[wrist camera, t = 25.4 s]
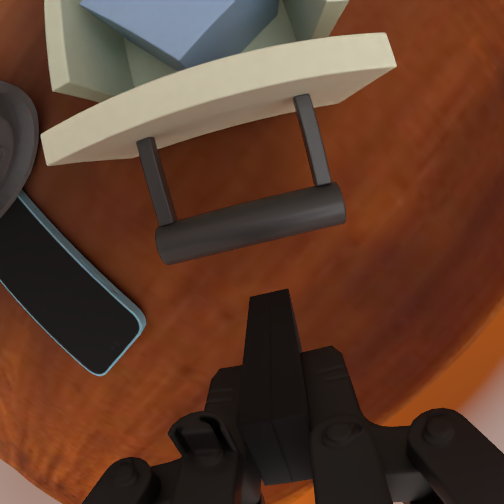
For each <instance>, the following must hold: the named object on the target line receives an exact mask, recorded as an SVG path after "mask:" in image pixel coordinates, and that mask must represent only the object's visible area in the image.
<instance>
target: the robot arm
mask: <svg viewBox="0 0 504 504" xmlns="http://www.w3.org/2000/svg"><path fill="white" fill-rule="evenodd" d="M168 435H169V437H170V438H171V440H172V441H173V443H174V444H175V446H176V447H177V449H178V450H179V452H180V453H181V455H182V457H181V458H179V459H177V460H174V461H172V462H168V463H164V464H160V465H156V466H152V467H150V466H149V465H148V463H147V462H146V461H144V460H142V459H140V458H135V457H128V458H124V459H120V460H119V461H117V462H115V463H113V464H112V465H111V466H110V467H109V468H108V469H107V470H106V471H105V473H104V474H103V475H102V477H101V478H100V480H99V481H98V482H97V484H96V485H95V486H94V488H93V489H92V490H91V492H90V493H89V495H88V496H87V497H86V499H85V500H84V501H83V503H82V504H265V501H264V497H263V495H262V493H261V478H262V480H263V482H264V484H265V485H274V484H282V483H289V482H296V481H302V480H308V479H313V484H314V494H315V503H316V504H393V502H403V503H404V504H504V454H503V453H502V452H501V451H500V450H499V449H498V448H497V447H496V446H495V445H494V444H493V443H492V442H491V441H489V440H488V439H487V438H486V437H485V436H484V435H483V434H482V433H481V432H480V431H479V430H478V429H477V428H476V427H474V426H473V425H472V424H471V423H470V422H469V421H468V420H467V419H466V418H465V417H464V416H463V415H461V414H460V413H458V412H456V411H455V410H451V409H446V408H439V409H431V410H429V411H426V412H424V413H422V414H420V415H419V416H418V417H417V418H416V419H414V420H413V422H412V424H411V425H410V426H398V427H386V426H380V425H376V424H374V423H372V422H370V421H368V420H367V419H366V418H365V417H364V416H363V414H362V412H361V410H360V407H359V403H358V400H357V397H356V394H355V391H354V388H353V385H352V382H351V379H350V376H349V373H348V370H347V368H346V365H345V362H344V359H343V356H342V353H340V352H339V351H338V350H337V349H335V348H334V347H333V346H328V347H324V348H320V349H315V350H311V351H306V352H302V347H301V342H300V338H299V333H298V329H297V325H296V320H295V316H294V311H293V307H292V303H291V298H290V294H289V290H288V289H284V290H279V291H275V292H270V293H266V294H261V295H257V296H252V297H250V301H249V311H248V320H247V329H246V338H245V348H244V357H243V365H240V366H234V367H228V368H222V369H219V371H218V372H217V373H216V374H215V376H214V377H213V378H212V380H211V383H210V388H209V394H208V396H207V403H206V405H205V409H204V411H199V412H195V413H190V414H188V415H186V416H184V417H182V418H180V419H179V420H178V421H177V422H176V423H174V424H173V425H172V427H171V428H170V430H169V432H168Z"/></svg>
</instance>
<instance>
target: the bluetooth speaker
mask: <svg viewBox="0 0 504 504" xmlns="http://www.w3.org/2000/svg"><path fill="white" fill-rule="evenodd" d="M38 139H39V121H38V115H37V111H36V108H35V106H34V104H33V102H32V100H31V99H30V98H29V96H28V95H27V94H26V93H25V92H24V91H23V90H22V89H20V88H19V87H17V86H15V85H13V84H10V83H7V82H4V81H1V80H0V218H1V217H2V216H3V215H4V214H5V212H6V211H7V210H8V209H9V208H10V206H11V205H12V204H13V202H14V201H15V200H16V198H17V196H18V195H19V193H20V191H21V189H22V188H23V186H24V184H25V182H26V181H27V179H28V177H29V175H30V173H31V171H32V168H33V165H34V161H35V158H36V153H37V147H38Z"/></svg>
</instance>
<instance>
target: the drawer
mask: <svg viewBox="0 0 504 504" xmlns="http://www.w3.org/2000/svg"><path fill="white" fill-rule="evenodd" d="M81 1H82V0H44V12H45V31H46V44H47V55H48V64H49V72H50V80H51V87H52V91H53V92H58V93H62V94H67V95H71V96H75V97H79V98H84V99H88V100H92V101H95V102H99V104H97V105H95V106H92V107H90V108H88V109H86V110H84V111H82V112H80V113H78V114H76V115H74V116H72V117H71V118H69V119H67V120H65V121H63V122H61V123H59V124H58V125H56V126H54V127H52V128H50V129H49V130H47V131H45V132H43V133H42V134H41V135H40V137H41V142H42V146H43V151H44V156H45V160H46V164H47V166H52V165H61V164H70V163H79V162H90V161H101V160H114V159H129V158H135V157H138V156H140V160H141V163H142V167H143V171H144V174H145V178H146V181H147V185H148V188H149V192H150V195H151V199H152V202H153V205H154V209H155V212H156V215H157V219H158V222H159V225H160V226H158V227H157V229H156V233H155V239H156V246H157V250H158V253H159V255H160V257H161V259H162V261H163V262H164V263H165V264H166V265H172V264H176V263H180V262H184V261H188V260H193V259H197V258H201V257H205V256H209V255H213V254H217V253H222V252H226V251H230V250H234V249H238V248H242V247H247V246H251V245H255V244H259V243H263V242H267V241H272V240H276V239H280V238H284V237H288V236H293V235H297V234H301V233H305V232H310V231H314V230H318V229H322V228H327V227H331V226H335V225H339V224H344V223H345V222H346V209H345V204H344V199H343V196H342V193H341V190H340V188H339V186H338V184H337V183H336V182H332V181H331V176H330V172H329V167H328V163H327V159H326V155H325V150H324V146H323V142H322V138H321V134H320V130H319V126H318V122H317V119H316V115H315V111H314V108H316V107H321V106H327V105H333V104H338V103H340V102H342V101H343V100H345V99H346V98H348V97H349V96H351V95H352V94H354V93H355V92H357V91H358V90H360V89H362V88H363V87H365V86H366V85H368V84H369V83H371V82H373V81H374V80H376V79H377V78H379V77H381V76H382V75H384V74H385V73H387V72H389V71H390V70H392V69H394V68H395V67H396V66H397V64H396V61H395V58H394V55H393V52H392V49H391V46H390V43H389V41H388V38H387V35H386V33H366V34H353V35H342V36H333V37H328V36H329V35H330V33H331V31H332V29H333V28H334V26H335V24H336V22H337V21H338V19H339V17H340V15H341V14H342V12H343V10H344V9H345V7H346V5H347V3H348V2H349V0H279V5H278V15H277V16H276V17H275V18H274V19H273V20H272V21H271V22H270V23H269V24H268V25H267V26H266V27H265V28H264V29H263V30H262V31H261V32H260V33H259V34H258V35H257V36H256V37H255V38H254V39H253V40H252V41H251V43H250V44H249V45H248V46H247V47H246V48H245V49H244V50H243V51H242V52H241V53H240V54H236V55H232V56H228V57H224V58H221V59H217V60H213V61H210V62H207V63H203V64H200V65H197V66H193V67H190V68H187V69H184V70H181V71H176V70H175V69H173V68H171V67H170V66H168V65H167V64H165V63H164V62H162V61H161V60H159V59H157V58H156V57H154V56H153V55H151V54H150V53H148V52H146V51H145V50H143V49H141V48H140V47H138V46H136V45H135V44H133V43H131V42H130V41H128V40H127V39H126V38H124V37H123V36H122V35H120V34H119V33H118V32H116V31H115V30H114V29H112V28H111V27H110V26H108V25H107V24H106V23H104V22H103V21H102V20H100V19H99V18H97V17H96V16H95V15H93V14H92V13H90V12H89V11H87V10H86V9H85V8H83V7H82V6H80V5H79V4H80V2H81ZM291 112H296V114H297V118H298V121H299V125H300V129H301V133H302V137H303V141H304V144H305V148H306V152H307V157H308V161H309V165H310V169H311V173H312V178H313V182H314V184H315V185H316V186H313V187H308V188H304V189H300V190H295V191H291V192H287V193H283V194H278V195H274V196H270V197H266V198H262V199H258V200H254V201H250V202H246V203H242V204H238V205H234V206H230V207H226V208H222V209H219V210H215V211H211V212H207V213H203V214H200V215H196V216H192V217H189V218H185V219H181V220H178V221H176V220H177V216H176V213H175V210H174V206H173V203H172V200H171V196H170V193H169V189H168V186H167V182H166V179H165V175H164V171H163V168H162V164H161V161H160V157H159V153H158V149H160V148H163V147H166V146H169V145H172V144H175V143H178V142H182V141H185V140H188V139H191V138H194V137H198V136H201V135H204V134H208V133H211V132H215V131H218V130H222V129H225V128H229V127H233V126H236V125H240V124H244V123H248V122H252V121H256V120H260V119H264V118H268V117H273V116H277V115H282V114H286V113H291Z"/></svg>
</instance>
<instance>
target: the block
mask: <svg viewBox="0 0 504 504" xmlns="http://www.w3.org/2000/svg"><path fill="white" fill-rule="evenodd" d="M79 5H80V6H82V7H83V8H85V9H86V10H87V11H89V12H90V13H92V14H93V15H95V16H96V17H97V18H99V19H100V20H102V21H103V22H104V23H106V24H107V25H108V26H110V27H111V28H112V29H114V30H115V31H116V32H118V33H119V34H120V35H122V36H123V37H124V38H126V39H127V40H128V41H130V42H131V43H133V44H135V45H136V46H138V47H140V48H141V49H143V50H145V51H146V52H148V53H150V54H151V55H153V56H154V57H156V58H157V59H159V60H161V61H162V62H164V63H165V64H167V65H168V66H170V67H171V68H173V69H175V70H176V71H181V70H184V69H187V68H190V67H193V66H197V65H200V64H203V63H207V62H210V61H213V60H217V59H221V58H224V57H228V56H232V55H236V54H240V53H241V52H242V51H243V50H244V49H245V48H246V47H247V46H248V45H249V44H250V43H251V41H252V40H253V39H254V38H255V37H256V36H257V35H258V34H259V33H260V32H261V31H262V30H263V29H264V28H265V27H266V26H267V25H268V24H269V23H270V22H271V21H272V20H273V19H274V18H275V17H276V16H277V15H278V5H279V0H82V1H81V2H80V4H79Z"/></svg>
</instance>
